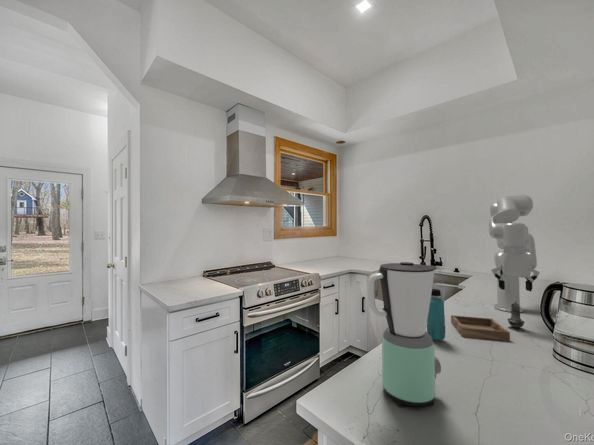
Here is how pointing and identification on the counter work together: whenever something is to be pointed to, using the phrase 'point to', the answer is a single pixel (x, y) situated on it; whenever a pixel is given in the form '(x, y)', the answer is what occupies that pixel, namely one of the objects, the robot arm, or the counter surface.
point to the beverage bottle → (436, 317)
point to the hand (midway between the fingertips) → (515, 289)
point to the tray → (480, 328)
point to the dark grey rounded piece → (515, 318)
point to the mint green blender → (406, 332)
